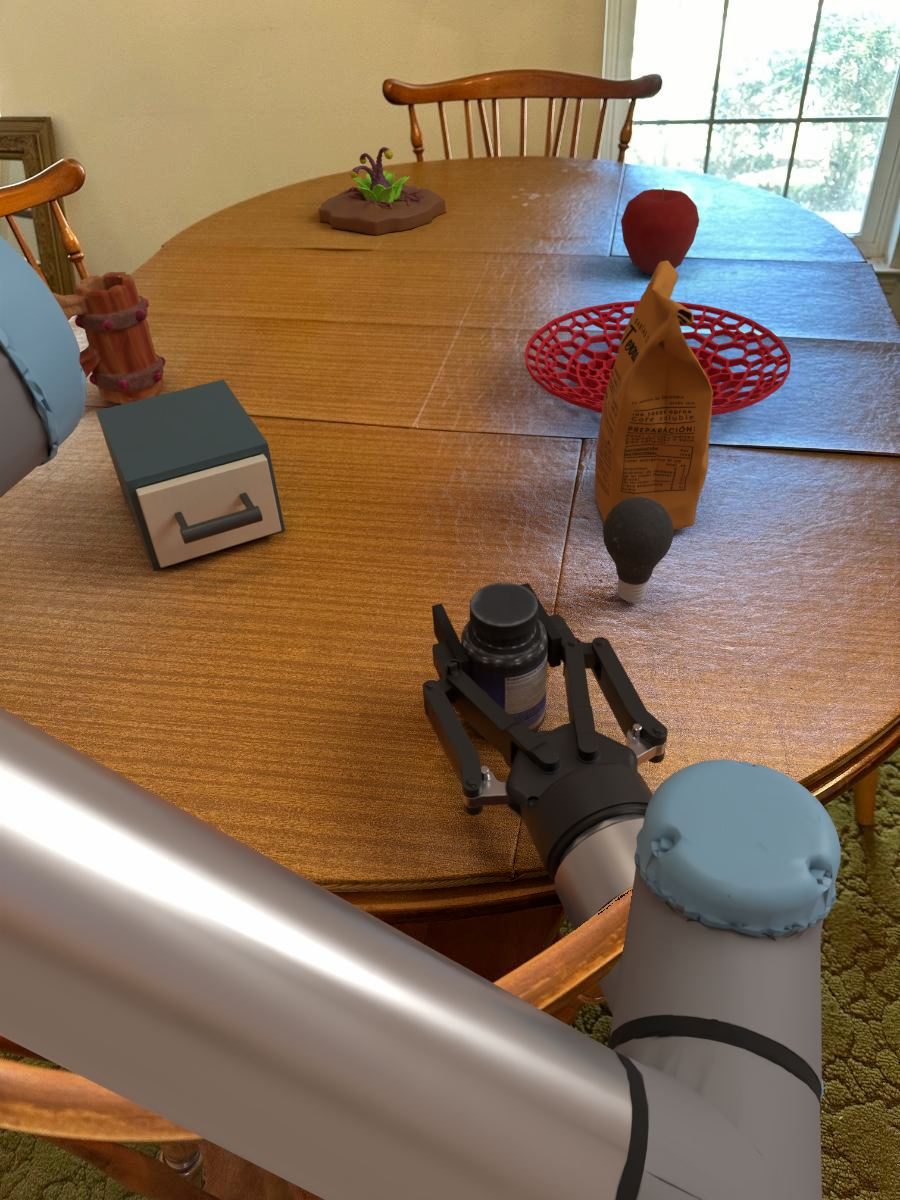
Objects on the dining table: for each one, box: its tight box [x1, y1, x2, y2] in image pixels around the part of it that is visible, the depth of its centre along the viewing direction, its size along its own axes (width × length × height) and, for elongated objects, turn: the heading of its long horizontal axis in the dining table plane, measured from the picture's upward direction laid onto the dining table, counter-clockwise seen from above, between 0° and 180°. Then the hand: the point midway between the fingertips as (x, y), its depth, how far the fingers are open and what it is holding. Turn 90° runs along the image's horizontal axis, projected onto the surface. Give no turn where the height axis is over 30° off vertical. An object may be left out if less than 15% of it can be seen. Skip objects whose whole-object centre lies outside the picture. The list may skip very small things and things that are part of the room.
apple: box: [620, 187, 700, 275], centre depth 133 cm, size 11×11×12 cm
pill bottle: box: [460, 582, 548, 738], centre depth 67 cm, size 6×6×11 cm
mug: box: [51, 271, 167, 405], centre depth 108 cm, size 15×8×15 cm, turn 130°
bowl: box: [524, 300, 792, 417], centre depth 107 cm, size 29×29×5 cm
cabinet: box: [95, 379, 286, 571], centre depth 91 cm, size 15×13×10 cm
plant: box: [318, 146, 447, 236], centre depth 160 cm, size 20×20×11 cm
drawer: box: [136, 454, 281, 569], centre depth 88 cm, size 18×12×8 cm, turn 26°
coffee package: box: [594, 261, 713, 531], centre depth 84 cm, size 10×12×22 cm
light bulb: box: [602, 497, 675, 604], centre depth 77 cm, size 6×6×10 cm
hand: (481, 608), depth 70 cm, fingers closed on pill bottle, 6 cm apart
